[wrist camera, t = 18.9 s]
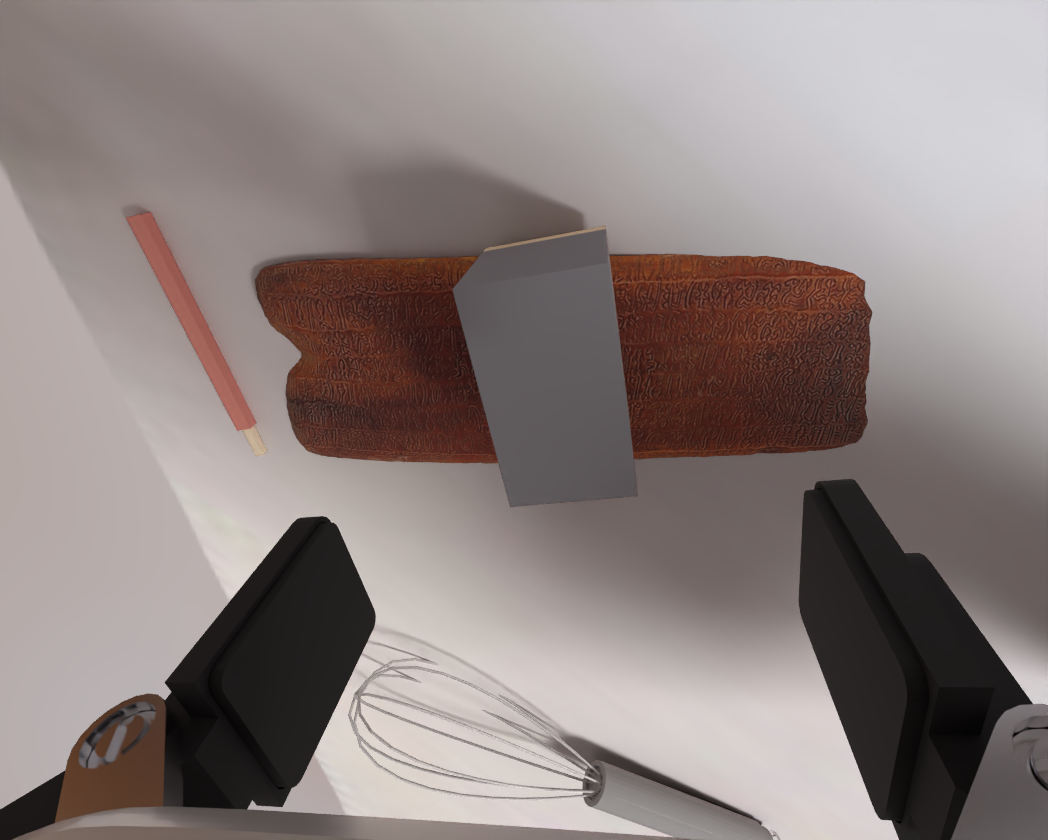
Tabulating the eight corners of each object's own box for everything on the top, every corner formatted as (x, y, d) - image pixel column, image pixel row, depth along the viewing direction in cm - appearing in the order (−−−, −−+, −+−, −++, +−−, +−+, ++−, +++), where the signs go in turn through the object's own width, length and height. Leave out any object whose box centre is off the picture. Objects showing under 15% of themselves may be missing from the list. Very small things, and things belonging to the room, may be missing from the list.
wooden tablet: (310, 450, 28) (295, 468, 27) (254, 254, 23) (231, 264, 22) (853, 464, 25) (869, 486, 24) (923, 241, 20) (949, 251, 19)
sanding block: (605, 225, 19) (608, 262, 15) (629, 417, 23) (637, 495, 18) (486, 248, 20) (452, 289, 16) (527, 429, 24) (510, 506, 19)
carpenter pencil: (152, 211, 22) (140, 214, 21) (271, 448, 27) (263, 456, 27) (138, 215, 22) (125, 217, 22) (258, 450, 28) (251, 457, 27)
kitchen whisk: (751, 848, 42) (774, 958, 36) (358, 665, 36) (316, 763, 31) (811, 819, 39) (846, 934, 34) (395, 615, 33) (355, 713, 28)
